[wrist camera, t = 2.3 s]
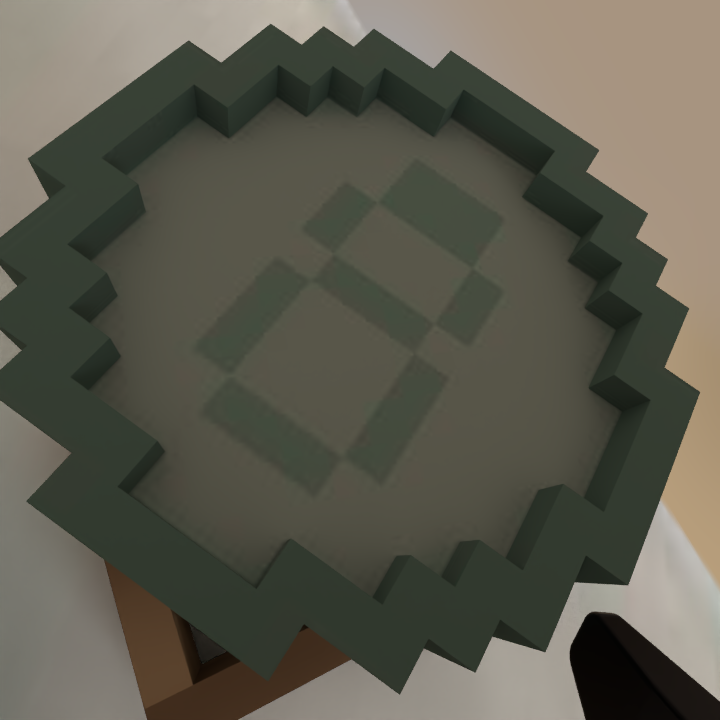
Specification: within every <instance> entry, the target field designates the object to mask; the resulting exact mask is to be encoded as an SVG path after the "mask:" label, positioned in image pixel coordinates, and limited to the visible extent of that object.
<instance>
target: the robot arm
mask: <svg viewBox="0 0 720 720" xmlns="http://www.w3.org/2000/svg"><path fill="white" fill-rule="evenodd" d="M570 663H571V667H572V671H573V675H574V679H575V682H576V686H577V690H578V693H579V697H580V701H581V705H582V708H583V712H584V716H585V720H720V701H718V700H717V699H716V698H715V697H714V696H713V695H711V694H710V693H709V692H708V691H707V690H706V689H704V688H703V687H702V686H701V685H700V684H699V683H697V682H696V681H695V680H694V679H693V678H692V677H690V676H689V675H688V674H687V673H686V672H685V671H683V670H682V669H681V668H680V667H679V666H678V665H676V664H675V663H674V662H673V661H672V660H670V659H669V658H668V657H667V656H666V655H665V654H663V653H662V652H661V651H660V650H659V649H658V648H656V647H655V646H654V645H653V644H652V643H651V642H649V641H648V640H647V639H646V638H645V637H644V636H642V635H641V634H640V633H639V632H638V631H637V630H635V629H634V628H633V627H632V626H631V625H630V624H628V623H627V622H626V621H625V620H624V619H622V618H621V617H620V616H618V615H617V614H614V613H606V612H591V613H589V614H588V615H587V616H586V617H585V619H584V621H583V623H582V625H581V627H580V629H579V631H578V633H577V635H576V637H575V639H574V640H573V642H572V644H571V648H570Z"/></svg>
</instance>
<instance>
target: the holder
mask: <svg viewBox="0 0 720 720" xmlns="http://www.w3.org/2000/svg"><path fill="white" fill-rule="evenodd" d="M104 561H105V565H106V568H107V572H108V576H109V580H110V583H111V587H112V591H113V594H114V598H115V602H116V606H117V609H118V613H119V617H120V620H121V624H122V628H123V632H124V635H125V639H126V643H127V646H128V650H129V654H130V658H131V661H132V665H133V669H134V672H135V676H136V680H137V684H138V687H139V691H140V695H141V698H142V702H143V706H144V710H145V713H146V717H147V720H238V719H240V718H242V717H244V716H245V715H247V714H249V713H251V712H253V711H255V710H257V709H259V708H261V707H262V706H264V705H266V704H268V703H270V702H272V701H274V700H276V699H277V698H279V697H281V696H283V695H285V694H287V693H289V692H291V691H293V690H294V689H296V688H298V687H300V686H302V685H304V684H306V683H308V682H309V681H311V680H313V679H315V678H317V677H319V676H321V675H323V674H325V673H326V672H328V671H330V670H332V669H334V668H336V667H338V666H340V665H341V664H343V663H345V662H347V661H349V660H351V658H349V657H348V656H347V655H345V654H344V653H343V652H341V651H340V650H338V649H337V648H336V647H334V646H333V645H332V644H330V643H329V642H328V641H326V640H325V639H324V638H322V637H321V636H319V635H318V634H317V633H315V632H314V631H313V630H311V629H310V628H309V627H307V626H306V625H305V624H304V625H303V626H302V628H301V630H300V631H299V633H298V634H297V636H296V638H295V639H294V641H293V642H292V644H291V646H290V647H289V649H288V650H287V652H286V654H285V655H284V657H283V658H282V660H281V662H280V663H279V665H278V666H277V668H276V670H275V671H274V673H273V674H272V676H271V678H270V679H269V681H267V680H265V679H264V678H263V677H261V676H260V675H259V674H257V673H256V672H255V671H253V670H252V669H251V668H249V667H248V666H247V665H245V664H244V663H243V662H241V661H240V660H239V659H237V658H236V657H235V656H233V655H232V654H230V653H229V652H226V653H224V654H222V655H220V656H218V657H216V658H214V659H212V660H210V661H208V662H206V663H204V664H201V661H200V658H199V655H198V651H197V648H196V645H195V641H194V638H193V635H192V631H191V628H190V625H189V622H188V621H186V620H185V619H183V618H182V617H181V616H179V615H178V614H177V613H175V612H174V611H173V610H171V609H170V608H169V607H167V606H166V605H165V604H163V603H162V602H161V601H159V600H158V599H157V598H155V597H154V596H153V595H151V594H150V593H149V592H147V591H146V590H145V589H143V588H142V587H141V586H139V585H138V584H137V583H135V582H134V581H132V580H131V579H130V578H128V577H127V576H126V575H124V574H123V573H122V572H120V571H119V570H118V569H116V568H115V567H114V566H112V565H111V564H110V563H108V562H107V561H106V560H104Z"/></svg>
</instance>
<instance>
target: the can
mask: <svg viewBox="0 0 720 720" xmlns="http://www.w3.org/2000/svg"><path fill="white" fill-rule="evenodd" d="M598 151H599V150H598V149H597V148H595V147H594V146H592V145H591V144H589V143H588V142H586V141H584V140H583V139H582V138H580V137H579V136H577V135H576V134H574V133H573V132H571V131H570V130H568V129H567V128H565V127H564V126H562V125H561V124H559V123H558V122H556V121H555V120H553V119H552V118H550V117H549V116H548V115H546V114H545V113H543V112H541V111H540V110H539V109H537V108H536V107H534V106H533V105H531V104H530V103H528V102H526V101H525V100H523V99H522V98H521V97H519V96H518V95H516V94H515V93H513V92H512V91H510V90H509V89H507V88H506V87H504V86H503V85H501V84H500V83H498V82H497V81H495V80H494V79H492V78H491V77H489V76H488V75H486V74H485V73H483V72H482V71H480V70H479V69H477V68H476V67H474V66H473V65H472V64H470V63H469V62H467V61H466V60H464V59H462V58H461V57H460V56H458V55H456V54H455V53H454V52H452V51H450V52H449V53H448V54H447V55H446V56H445V57H444V58H443V60H442V61H441V62H440V63H439V64H438V65H437V66H436V67H435V68H434V69H433V68H431V67H430V66H428V65H426V64H425V63H424V62H422V61H421V60H419V59H418V58H416V57H415V56H414V55H412V54H410V53H409V52H407V51H406V50H405V49H403V48H402V47H400V46H399V45H397V44H396V43H394V42H393V41H391V40H390V39H388V38H387V37H385V36H384V35H382V34H381V33H379V32H378V31H376V30H375V29H373V30H372V31H371V32H370V33H369V34H368V35H366V36H365V37H364V38H363V39H362V40H361V41H360V42H359V43H358V44H357V45H355V46H354V47H353V46H352V45H350V44H349V43H347V42H346V41H345V40H343V39H342V38H340V37H339V36H337V35H336V34H334V33H333V32H331V31H330V30H328V29H327V28H325V27H324V26H323V27H322V28H321V29H320V30H319V31H317V32H316V33H315V34H314V35H313V36H312V37H310V38H309V39H308V40H307V41H306V42H305V43H303V44H302V45H301V44H300V43H298V42H297V41H295V40H294V39H292V38H291V37H289V36H288V35H286V34H285V33H284V32H282V31H281V30H279V29H278V28H276V27H275V26H273V25H272V24H270V25H269V26H267V27H266V28H265V29H263V30H262V31H261V32H260V33H258V34H257V35H256V36H255V37H253V38H252V39H251V40H250V41H248V42H247V43H246V44H244V45H243V46H242V47H241V48H239V49H238V50H237V51H236V52H234V53H233V54H232V55H231V56H229V57H228V58H227V59H226V60H224V61H223V62H222V63H221V62H219V61H218V60H216V59H215V58H213V57H212V56H210V55H209V54H207V53H206V52H205V51H203V50H202V49H200V48H199V47H197V46H196V45H194V44H193V43H191V42H190V41H187V42H186V43H185V44H183V45H182V46H181V47H179V48H178V49H176V50H175V51H174V52H172V53H171V54H170V55H168V56H167V57H166V58H164V59H163V60H161V61H160V62H159V63H157V64H156V65H155V66H153V67H152V68H151V69H149V70H148V71H147V72H145V73H144V74H142V75H141V76H140V77H138V78H137V79H136V80H134V81H133V82H132V83H130V84H129V85H128V86H126V87H125V88H123V89H122V90H121V91H119V92H118V93H117V94H115V95H114V96H113V97H111V98H110V99H108V100H107V101H106V102H104V103H103V104H102V105H100V106H99V107H98V108H96V109H95V110H94V111H92V112H91V113H89V114H88V115H87V116H85V117H84V118H83V119H81V120H80V121H79V122H77V123H76V124H74V125H73V126H72V127H70V128H69V129H68V130H66V131H65V132H64V133H62V134H61V135H60V136H58V137H57V138H55V139H54V140H53V141H51V142H50V143H49V144H47V145H46V146H45V147H43V148H42V149H41V150H39V151H38V152H36V153H35V154H34V155H32V156H31V157H30V158H28V160H29V162H30V164H31V166H32V167H33V169H34V171H35V173H36V175H37V177H38V179H39V181H40V182H41V184H42V186H43V188H44V190H45V192H46V194H47V196H48V197H49V199H48V200H47V201H46V202H45V203H43V204H42V205H41V206H39V207H38V208H37V209H36V210H34V211H33V212H32V213H31V214H29V215H28V216H27V217H26V218H24V219H23V220H22V221H20V222H19V223H18V224H17V225H15V226H14V227H13V228H12V229H10V230H9V231H8V232H7V233H5V234H4V235H3V236H1V237H0V266H1V267H2V268H3V269H4V270H5V272H6V273H7V274H8V275H9V277H10V278H11V279H12V280H13V281H14V283H15V284H16V285H17V287H16V288H15V289H14V290H12V291H11V292H10V293H9V294H8V295H7V296H5V297H4V298H3V299H2V300H1V301H0V330H1V331H2V332H3V333H4V334H5V335H6V336H7V337H8V338H9V339H10V340H11V341H12V342H14V343H15V344H16V345H17V346H18V347H19V348H20V349H21V350H22V351H21V352H19V353H18V354H17V355H16V356H15V357H14V358H13V359H12V360H11V361H10V362H9V363H7V364H6V365H5V366H4V367H3V368H2V369H1V370H0V400H1V401H2V402H3V403H5V404H6V405H7V406H9V407H10V408H11V409H13V410H14V411H15V412H17V413H18V414H20V415H21V416H22V417H24V418H25V419H26V420H28V421H29V422H30V423H32V424H33V425H34V426H36V427H37V428H39V429H40V430H41V431H43V432H44V433H45V434H47V435H48V436H49V437H51V438H52V439H53V440H55V441H56V442H58V443H59V444H60V445H62V446H63V447H64V448H66V449H67V450H68V451H70V452H71V454H70V456H69V457H68V458H67V459H66V460H65V461H64V462H63V463H62V464H61V465H60V466H59V467H58V468H57V469H56V470H55V471H54V472H53V474H52V475H51V476H50V477H49V478H48V479H47V480H46V481H45V482H44V483H43V484H42V485H41V486H40V487H39V488H38V489H37V491H36V492H35V493H34V494H33V495H32V496H31V497H30V498H29V499H28V500H27V501H26V502H28V503H29V504H30V505H32V506H33V507H34V508H36V509H37V510H39V511H40V512H41V513H43V514H44V515H45V516H47V517H48V518H49V519H51V520H52V521H53V522H55V523H56V524H57V525H59V526H60V527H61V528H63V529H64V530H65V531H67V532H68V533H69V534H71V535H72V536H73V537H75V538H76V539H77V540H79V541H80V542H81V543H83V544H84V545H86V546H87V547H88V548H90V549H91V550H92V551H94V552H95V553H96V554H98V555H99V556H100V557H102V558H103V559H104V560H106V561H107V562H108V563H110V564H111V565H112V566H114V567H115V568H116V569H118V570H119V571H120V572H122V573H123V574H124V575H126V576H127V577H128V578H130V579H131V580H132V581H134V582H135V583H137V584H138V585H139V586H141V587H142V588H143V589H145V590H146V591H147V592H149V593H150V594H151V595H153V596H154V597H155V598H157V599H158V600H159V601H161V602H162V603H163V604H165V605H166V606H167V607H169V608H170V609H171V610H173V611H174V612H175V613H177V614H178V615H179V616H181V617H182V618H183V619H185V620H186V621H188V622H189V623H190V624H192V625H193V626H194V627H196V628H197V629H198V630H200V631H201V632H202V633H204V634H205V635H206V636H208V637H209V638H210V639H212V640H213V641H214V642H216V643H217V644H218V645H220V646H221V647H222V648H224V649H225V650H226V651H228V652H229V653H230V654H232V655H233V656H235V657H236V658H237V659H239V660H240V661H241V662H243V663H244V664H245V665H247V666H248V667H249V668H251V669H252V670H253V671H255V672H256V673H257V674H259V675H260V676H261V677H263V678H264V679H265V680H267V681H269V679H270V678H271V676H272V674H273V673H274V671H275V670H276V668H277V666H278V665H279V663H280V662H281V660H282V658H283V657H284V655H285V654H286V652H287V650H288V649H289V647H290V646H291V644H292V642H293V641H294V639H295V638H296V636H297V634H298V633H299V631H300V630H301V628H302V626H303V625H304V624H305V625H306V626H307V627H309V628H310V629H311V630H313V631H314V632H315V633H317V634H318V635H319V636H321V637H322V638H324V639H325V640H326V641H328V642H329V643H330V644H332V645H333V646H334V647H336V648H337V649H338V650H340V651H341V652H343V653H344V654H345V655H347V656H348V657H349V658H351V659H352V660H353V661H355V662H356V663H357V664H359V665H360V666H362V667H363V668H364V669H366V670H367V671H368V672H370V673H371V674H372V675H374V676H375V677H376V678H378V679H379V680H381V681H382V682H383V683H385V684H386V685H387V686H389V687H390V688H391V689H393V690H394V691H395V692H397V693H398V694H400V693H401V691H402V689H403V687H404V686H405V684H406V682H407V680H408V678H409V676H410V674H411V672H412V670H413V668H414V666H415V664H416V662H417V660H418V658H419V656H420V655H421V653H422V651H423V649H426V650H429V651H431V652H433V653H435V654H437V655H439V656H441V657H443V658H446V659H448V660H450V661H452V662H454V663H456V664H458V665H460V666H462V667H465V668H467V669H469V670H471V671H473V672H476V670H477V668H478V666H479V664H480V662H481V659H482V657H483V655H484V653H485V651H486V649H487V647H488V644H489V642H490V640H491V638H492V637H496V638H499V639H502V640H506V641H509V642H513V643H516V644H519V645H523V646H526V647H530V648H533V649H536V650H540V651H543V652H546V649H547V647H548V645H549V642H550V640H551V637H552V635H553V633H554V630H555V628H556V626H557V623H558V621H559V618H560V616H561V614H562V611H563V609H564V606H565V604H566V602H567V599H568V597H569V594H570V592H571V590H572V587H573V585H574V582H580V583H597V584H615V585H628V584H629V582H630V579H631V576H632V574H633V571H634V568H635V566H636V563H637V560H638V557H639V555H640V552H641V549H642V547H643V544H644V541H645V539H646V536H647V533H648V531H649V528H650V525H651V523H652V520H653V517H654V515H655V512H656V509H657V506H658V504H659V501H660V498H661V496H662V493H663V490H664V488H665V485H666V482H667V479H668V477H669V474H670V472H671V469H672V466H673V463H674V461H675V458H676V455H677V453H678V450H679V447H680V444H681V442H682V439H683V436H684V434H685V431H686V429H687V426H688V423H689V420H690V418H691V415H692V412H693V410H694V407H695V404H696V402H697V399H698V396H699V394H700V392H699V391H698V390H696V389H695V388H693V387H692V386H690V385H689V384H688V383H686V382H685V381H683V380H682V379H680V378H679V377H677V376H676V375H674V374H673V373H671V372H670V371H669V370H667V369H666V368H664V367H665V365H666V362H667V360H668V358H669V355H670V353H671V350H672V348H673V346H674V343H675V341H676V339H677V336H678V334H679V331H680V329H681V327H682V324H683V322H684V319H685V317H686V315H687V312H688V310H689V308H688V307H686V306H684V305H683V304H682V303H680V302H679V301H677V300H676V299H674V298H673V297H671V296H670V295H668V294H667V293H666V292H664V291H663V290H661V289H660V288H658V287H657V286H656V284H657V282H658V280H659V277H660V275H661V273H662V271H663V269H664V267H665V265H666V262H667V260H668V259H666V258H665V257H663V256H662V255H661V254H659V253H658V252H656V251H654V250H653V249H652V248H650V247H649V246H647V245H646V244H644V243H643V242H641V241H640V240H638V239H637V238H636V236H637V234H638V232H639V230H640V228H641V226H642V224H643V222H644V221H645V218H646V217H647V215H648V213H646V212H645V211H643V210H642V209H640V208H639V207H638V206H636V205H635V204H633V203H632V202H630V201H629V200H627V199H626V198H624V197H623V196H621V195H620V194H618V193H617V192H615V191H614V190H612V189H611V188H609V187H608V186H606V185H605V184H603V183H602V182H600V181H599V180H598V179H596V178H595V177H593V176H592V175H590V174H589V173H587V172H586V171H587V169H588V167H589V166H590V164H591V163H592V161H593V159H594V158H595V156H596V155H597V153H598Z"/></svg>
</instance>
